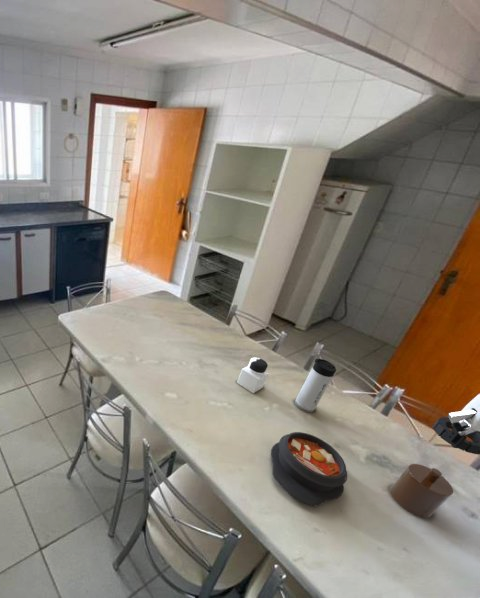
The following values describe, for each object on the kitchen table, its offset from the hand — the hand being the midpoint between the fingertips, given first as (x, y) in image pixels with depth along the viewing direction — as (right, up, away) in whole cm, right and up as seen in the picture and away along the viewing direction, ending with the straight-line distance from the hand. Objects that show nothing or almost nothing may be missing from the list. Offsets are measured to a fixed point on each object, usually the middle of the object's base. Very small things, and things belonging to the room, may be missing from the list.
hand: (471, 448), depth 79 cm
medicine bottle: (-27, +2, +51) cm, 58 cm away
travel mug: (-11, -4, +43) cm, 45 cm away
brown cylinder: (-2, -21, +12) cm, 24 cm away
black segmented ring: (+1, +1, +4) cm, 4 cm away
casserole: (-28, -16, +18) cm, 37 cm away
